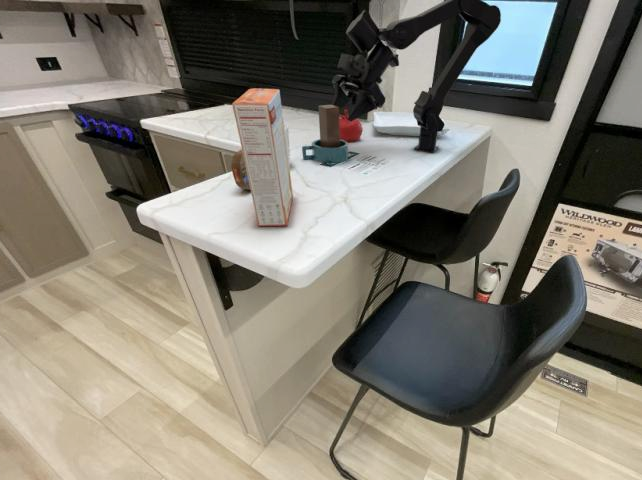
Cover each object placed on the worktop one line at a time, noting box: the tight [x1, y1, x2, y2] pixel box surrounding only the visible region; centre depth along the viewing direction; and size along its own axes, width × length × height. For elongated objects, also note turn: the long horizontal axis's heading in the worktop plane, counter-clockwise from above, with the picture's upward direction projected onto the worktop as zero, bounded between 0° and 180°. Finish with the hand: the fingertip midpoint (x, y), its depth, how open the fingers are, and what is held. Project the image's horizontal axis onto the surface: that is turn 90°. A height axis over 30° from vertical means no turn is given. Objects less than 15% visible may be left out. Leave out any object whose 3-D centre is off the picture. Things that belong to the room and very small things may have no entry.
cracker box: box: [231, 87, 294, 227], centre depth 62 cm, size 14×6×21 cm, turn 5°
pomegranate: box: [339, 109, 364, 143], centre depth 109 cm, size 10×10×9 cm
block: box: [318, 104, 340, 148], centre depth 91 cm, size 4×4×13 cm
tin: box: [230, 148, 251, 191], centre depth 77 cm, size 15×3×8 cm, turn 168°
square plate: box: [372, 111, 451, 137], centre depth 127 cm, size 27×27×4 cm
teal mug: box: [301, 138, 349, 164], centre depth 94 cm, size 13×10×4 cm
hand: (339, 117), depth 91 cm, fingers open, 9 cm apart
